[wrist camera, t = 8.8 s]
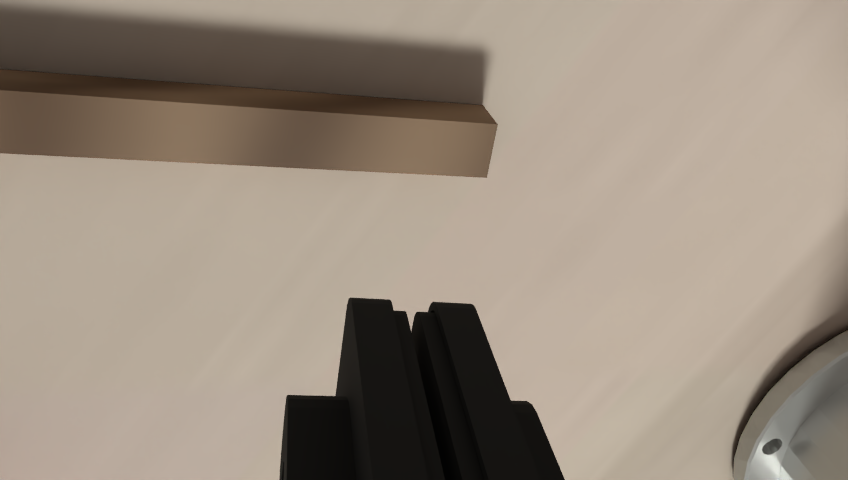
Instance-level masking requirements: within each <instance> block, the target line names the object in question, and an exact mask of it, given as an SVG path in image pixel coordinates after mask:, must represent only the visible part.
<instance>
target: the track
mask: <svg viewBox="0 0 848 480" xmlns="http://www.w3.org/2000/svg"><path fill="white" fill-rule="evenodd" d="M497 125H498V124H497V123H496V122H495V120H494V119H493V118H492V117H491V115H490V114H489V113H488V111H487V110H486V109H485V107H484V106H483V105H471V104H458V103H445V102H431V101H418V100H405V99H391V98H378V97H365V96H351V95H338V94H325V93H311V92H298V91H285V90H271V89H258V88H244V87H231V86H218V85H204V84H191V83H178V82H164V81H151V80H138V79H124V78H111V77H98V76H84V75H71V74H58V73H44V72H31V71H18V70H4V69H0V153H8V154H28V155H47V156H67V157H87V158H107V159H127V160H147V161H167V162H187V163H207V164H227V165H247V166H267V167H286V168H306V169H326V170H346V171H366V172H386V173H406V174H426V175H446V176H466V177H486V178H487V174H488V169H489V164H490V159H491V154H492V149H493V144H494V139H495V134H496V130H497Z"/></svg>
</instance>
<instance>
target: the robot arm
mask: <svg viewBox="0 0 848 480" xmlns="http://www.w3.org/2000/svg"><path fill="white" fill-rule="evenodd" d="M733 478H734V480H848V330H847V331H845V332H843V333H841V334H839V335H837V336H836V337H834V338H833V339H831V340H829V341H828V342H826V343H825V344H823V345H822V346H820V347H818V348H817V349H815V350H814V351H812V352H811V353H810V354H808V355H807V356H806V357H805V358H804V359H802V360H801V361H800V362H799V363H797V364H796V365H795V366H794V367H792V368H791V369H790V370H789V371H788V372H787V373H786V374H785V375H784V376H783V377H782V378H781V379H780V380H779V381H778V382H777V383H776V384H775V385H774V386H773V387H772V388H771V389H770V391H769V392H768V393H767V394H766V396H765V397H764V398H763V400H762V401H761V402H760V404H759V405H758V406H757V408H756V409H755V411H754V412H753V413H752V415H751V417H750V419H749V421H748V423H747V425H746V427H745V429H744V431H743V433H742V435H741V437H740V440H739V443H738V447H737V450H736V454H735V457H734V471H733ZM280 480H565V479H564V477H563V475H562V472H561V470H560V467H559V465H558V463H557V460H556V458H555V455H554V453H553V451H552V448H551V446H550V443H549V441H548V439H547V436H546V434H545V431H544V429H543V427H542V424H541V422H540V419H539V417H538V415H537V412H536V411H535V409H534V407H533V405H532V404H530V403H529V402H527V401H511V400H510V398H509V395H508V393H507V390H506V387H505V385H504V382H503V379H502V377H501V374H500V371H499V369H498V366H497V364H496V361H495V358H494V356H493V353H492V350H491V348H490V345H489V343H488V340H487V337H486V335H485V332H484V329H483V327H482V324H481V321H480V319H479V316H478V314H477V311H476V308H475V307H474V305H472V304H463V303H443V302H432V303H431V305H430V307H429V310H428V312H417V313H416V314H415V317H414V321H413V326H412V332H411V330H410V326H409V321H408V317H407V314H406V312H405V311H393V306H392V302H391V300H385V299H366V298H349V300H348V304H347V311H346V318H345V326H344V334H343V342H342V350H341V358H340V366H339V373H338V381H337V389H336V396H303V395H287V398H286V405H285V416H284V427H283V438H282V450H281V465H280Z"/></svg>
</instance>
